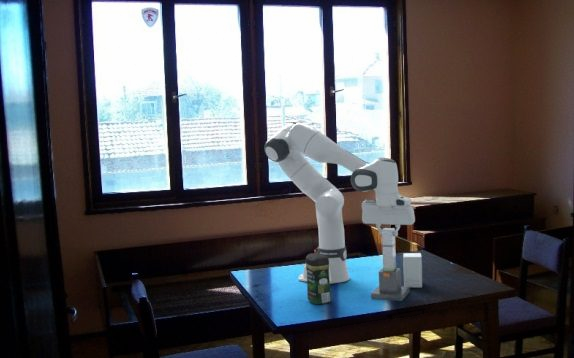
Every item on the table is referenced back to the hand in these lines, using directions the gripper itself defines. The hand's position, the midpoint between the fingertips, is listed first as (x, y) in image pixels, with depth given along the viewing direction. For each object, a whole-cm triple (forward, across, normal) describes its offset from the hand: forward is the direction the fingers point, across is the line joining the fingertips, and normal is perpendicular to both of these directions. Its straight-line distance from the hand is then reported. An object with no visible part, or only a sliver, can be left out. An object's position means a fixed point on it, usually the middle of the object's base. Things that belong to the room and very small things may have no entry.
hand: (388, 235), depth 231 cm
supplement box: (+24, +5, +16) cm, 29 cm away
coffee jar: (+24, -24, -15) cm, 37 cm away
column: (+16, 0, 0) cm, 16 cm away
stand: (+24, 0, 0) cm, 24 cm away
